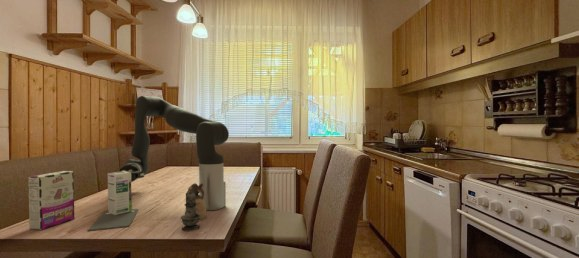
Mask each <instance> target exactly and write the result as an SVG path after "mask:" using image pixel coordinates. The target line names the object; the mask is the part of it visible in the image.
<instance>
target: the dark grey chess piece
mask: <svg viewBox="0 0 579 258" xmlns="http://www.w3.org/2000/svg"><path fill="white" fill-rule="evenodd" d="M186 193H187V192H186ZM186 193H185V203H184V206H185V211H186V212H184V214H183V215H182V216H180V220H181V222H182V224H183V225H184V226H183V227H181V231H184V232H194V231H197V230H199V229H200V225H198V223H199V222H200V221H201V220H200V217H201V215H199V214H197V213H196V205H197V203H196V195H195V193H194V192H192V190H191V189H190V192H189V193H187V194H186ZM199 220H200V221H199ZM193 230H194V231H193Z"/></svg>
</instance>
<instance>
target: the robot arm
mask: <svg viewBox="0 0 579 258" xmlns="http://www.w3.org/2000/svg"><path fill="white" fill-rule="evenodd" d="M146 117H158V118H159V117H160V118H164V119H165V122H166V123H167V125H168V126H170V127H171V128H173V129H176V130H177V131H180V132H184V133H189V134H193V135H194V134H195V141H196V142H195V143H196V155H197V158H198V186H199V185H200V184H201V183H202V184H203V186H202V189H203V191H204V197H203V199H204V203H205V207H206V211H216V210H220V209H223V208H224V207H225V206H227V205H226V203H227V201H226V199H227V198H226V197H227V196H226V193H227V192H226V188H227V187H226V185H227V184H226V181H224V180H225V179H224V176H225V175H224V166H225V165H224V161H225V160H224V155H222V154H220V153H218V152H217V151H216V147H215V146H219V145H223V144H225V143H226V142H227V141H228V139H229V137H230V135H229V130H228V128H227V126H226V125H225V124H224V123H222V122H219V121H217V120H216V121H215V120H211V119H208V118H205V117H204V116H202V115H199V114H197V113H194V112H193V111H190V110H188V109H185V108H183V107H180V106H177V105H174V104H171V103H170V102H168V101H166V100H164V99H163V98H162V97H159V96H155V95H152V96H149V95H140V96H139V97H137V99H136V102H135V107H134V134H133V136H134V137H133V142H132V147H131V156H132V157H134V158H136V159H133V158H129V159H128V160H126V161H125V163H124V165H123V166H122V167H120V169H118V172H122V171H128V172H131V183H133V182H135V181H136V180H138V179H142V178H144V177H145V175H146V174H148V171H149V168H150V167H149V161H148V155H149V153H148V152H149V149H150V144H151V140H150V139H151V138H150V137H151V136H150V135H149V133H148V130H147V128H146ZM110 173H113V172H110ZM198 195H200V196H202V193H201V192H199V194H198Z"/></svg>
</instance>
